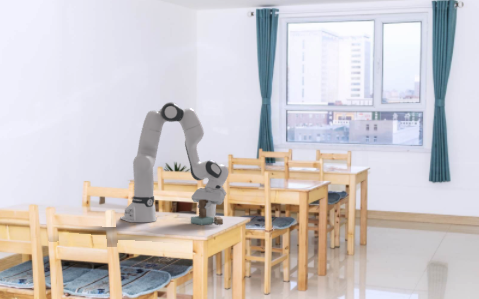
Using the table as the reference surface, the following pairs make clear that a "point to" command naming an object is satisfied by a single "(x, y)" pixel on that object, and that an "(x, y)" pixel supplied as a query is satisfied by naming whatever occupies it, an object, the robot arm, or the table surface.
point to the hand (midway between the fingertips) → (201, 208)
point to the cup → (202, 220)
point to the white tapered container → (211, 210)
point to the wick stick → (202, 208)
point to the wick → (218, 220)
